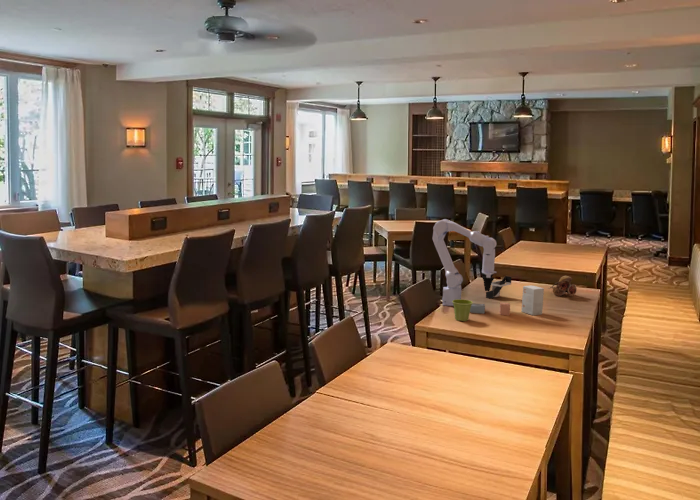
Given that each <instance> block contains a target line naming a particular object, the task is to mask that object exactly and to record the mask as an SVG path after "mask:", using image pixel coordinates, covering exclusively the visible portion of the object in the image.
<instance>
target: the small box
mask: <svg viewBox="0 0 700 500" xmlns="http://www.w3.org/2000/svg"><path fill="white" fill-rule="evenodd" d="M544 292H545V288H544V287H540V286H537V285H523V286H522V298H521V299H522V301H521V312H522V313H524V314H528V315H531V316H539V315H543V307H544V294H545V293H544Z"/></svg>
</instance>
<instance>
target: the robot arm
mask: <svg viewBox="0 0 700 500" xmlns="http://www.w3.org/2000/svg"><path fill="white" fill-rule="evenodd" d="M432 230H433V231H432V241H433V244H434V247H435V250H436V252H437V254H438V256H439V259H440V261H441V264H442V266H443V269H444V271H445V278H446V285H447V286H443V287H442V288H443V290H442V297H441V302H442V306H448V307H454V305H453V302H452V301H453V300H457V299H462V289H463V288H462V283H463V281H464V278H463V275H462V274H460V273H459V270H458V268H456V266H455V264H454V262H453V260H452V257H451V255H450V252H449V250H448V247H447V245H446V242H445V240H444V239H445V237H446V235H447V233H448V232H456V233H458V234H460V235H462V236H465V237H467V238H468V239H469V242H471V243H473V244H475V245H477V246H479V247H482V248H483V253H482V267H481V268H482V269H481V277H482V280H483V286H484V291H485V292H488V291H491V288H492V285H491V284H492V282H494V280H495V278H494V277H493V276H494V274H497V271H495V261H496V260H495V259H496V247H497V240H496V239H495V238H494V237H489V235H485V234H482V233H481V231H480V230H473V231H471V230H469V229H468V228H466V227H465V226H462V225H460V224H459V223H457V222H454V221H452V220H449V219H447V218H443V219H441V220H437V221H436V222H435V223H434V225H433V228H432Z"/></svg>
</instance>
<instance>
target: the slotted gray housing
mask: <svg viewBox="0 0 700 500" xmlns="http://www.w3.org/2000/svg"><path fill="white" fill-rule="evenodd" d="M485 311H486V305H485V303H473V304H472V306H471V308H470V312H471V313H470V314H485Z"/></svg>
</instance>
